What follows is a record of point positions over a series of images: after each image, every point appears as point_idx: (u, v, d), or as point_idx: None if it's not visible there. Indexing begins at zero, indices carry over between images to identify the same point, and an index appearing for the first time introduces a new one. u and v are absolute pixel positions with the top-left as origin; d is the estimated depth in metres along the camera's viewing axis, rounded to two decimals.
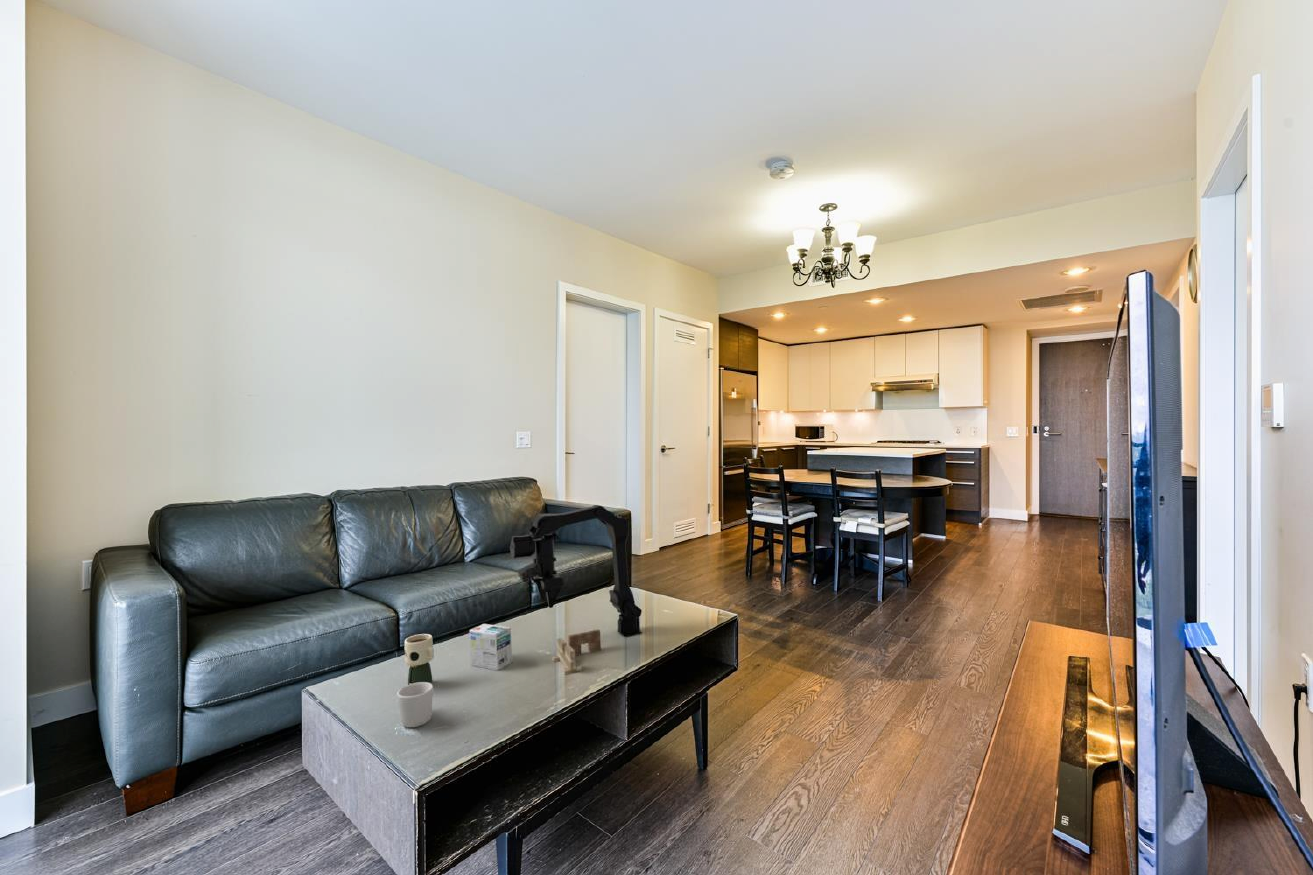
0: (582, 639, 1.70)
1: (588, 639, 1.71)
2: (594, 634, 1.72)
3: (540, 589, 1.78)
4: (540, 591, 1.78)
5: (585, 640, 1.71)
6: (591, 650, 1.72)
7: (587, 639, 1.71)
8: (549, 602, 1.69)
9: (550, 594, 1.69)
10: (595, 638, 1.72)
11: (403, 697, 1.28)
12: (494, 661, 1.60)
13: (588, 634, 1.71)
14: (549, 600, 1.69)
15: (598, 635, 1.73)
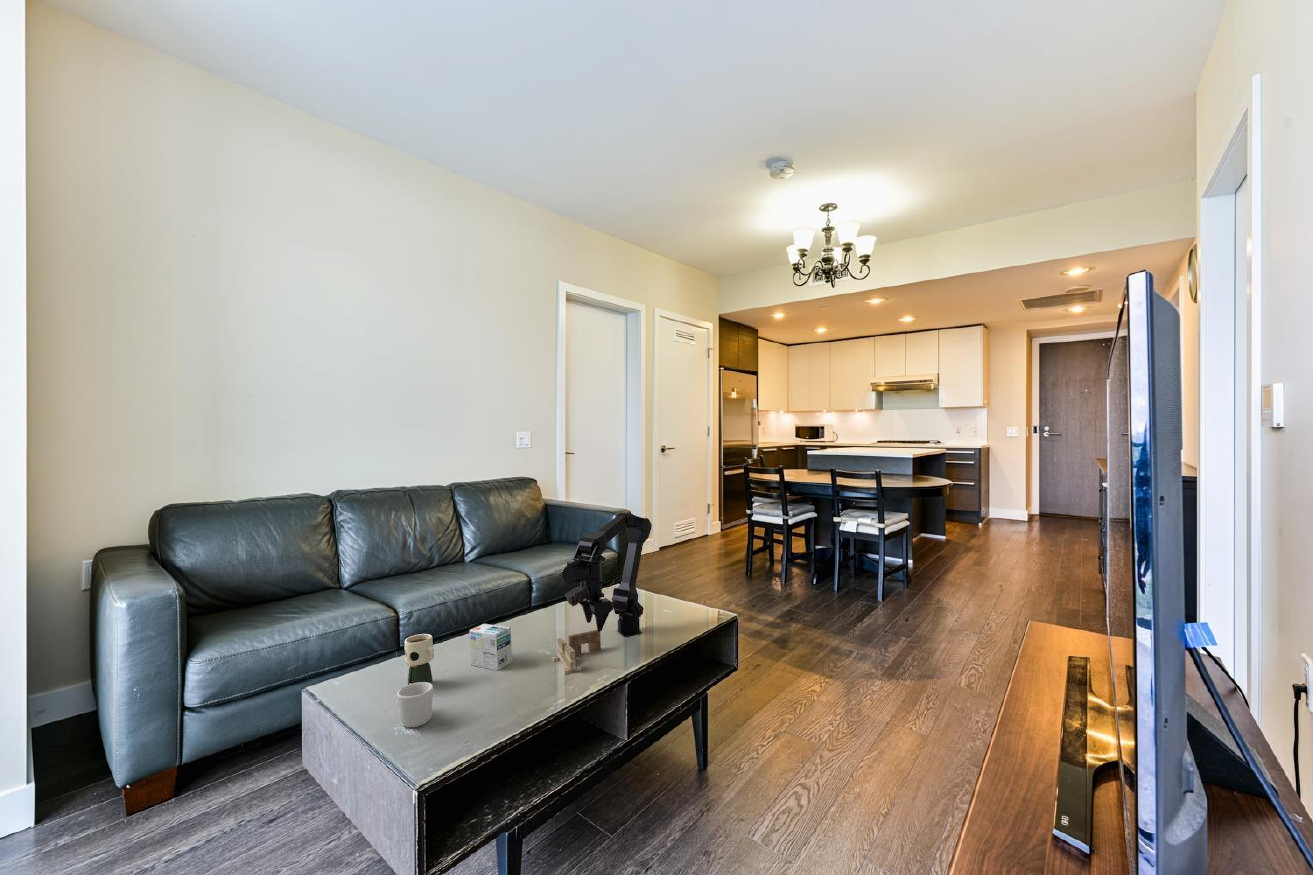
0: (582, 639, 1.70)
1: (588, 639, 1.71)
2: (594, 634, 1.72)
3: (586, 611, 1.77)
4: (586, 613, 1.77)
5: (585, 640, 1.71)
6: (591, 650, 1.72)
7: (587, 639, 1.71)
8: (598, 626, 1.68)
9: (599, 618, 1.68)
10: (595, 638, 1.72)
11: (403, 697, 1.28)
12: (494, 661, 1.60)
13: (588, 634, 1.71)
14: (598, 624, 1.68)
15: (598, 635, 1.73)
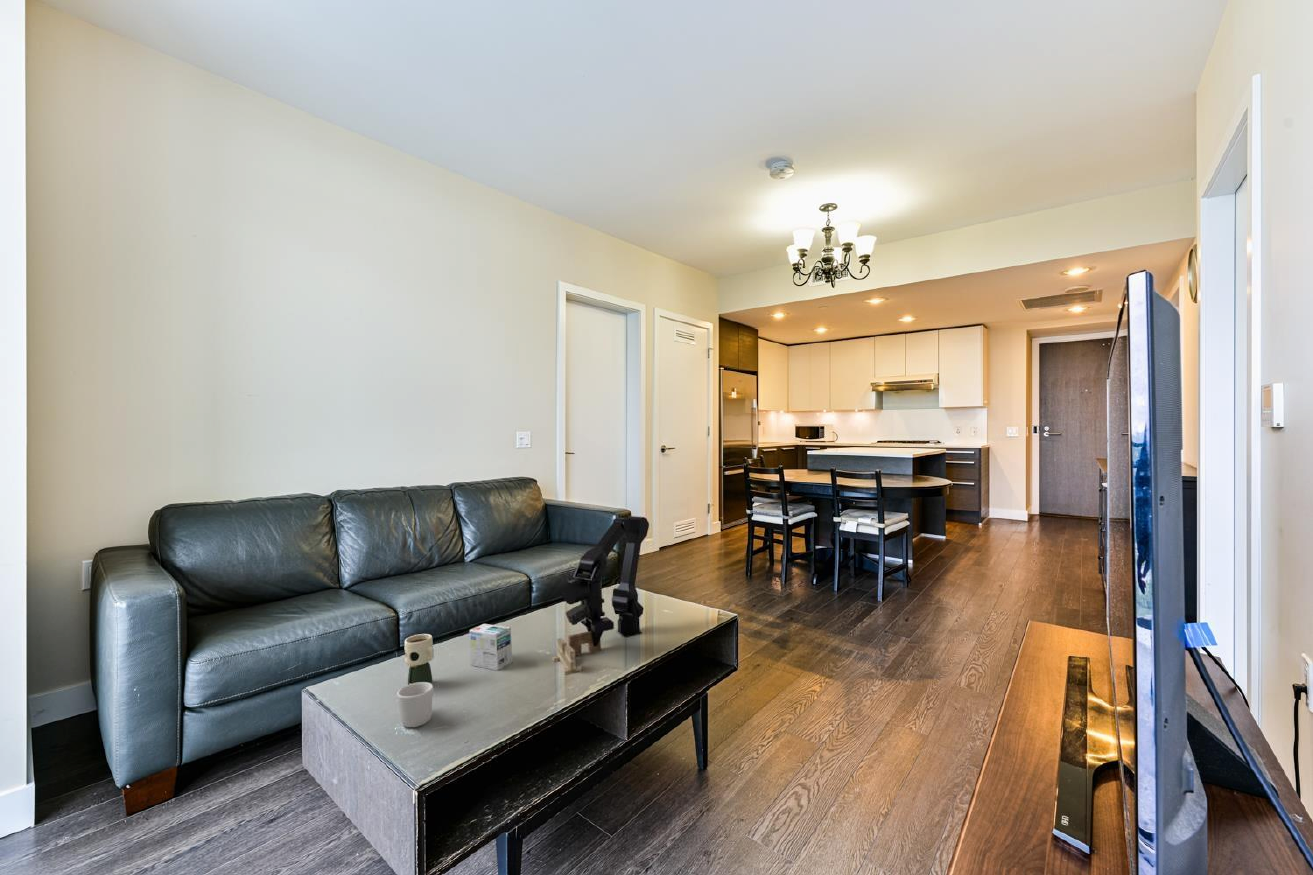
0: (582, 639, 1.70)
1: (588, 639, 1.71)
2: None
3: None
4: None
5: (585, 640, 1.71)
6: (591, 650, 1.72)
7: (587, 639, 1.71)
8: (594, 641, 1.71)
9: (595, 633, 1.71)
10: None
11: (403, 697, 1.28)
12: (494, 661, 1.60)
13: (588, 634, 1.71)
14: (594, 639, 1.71)
15: None
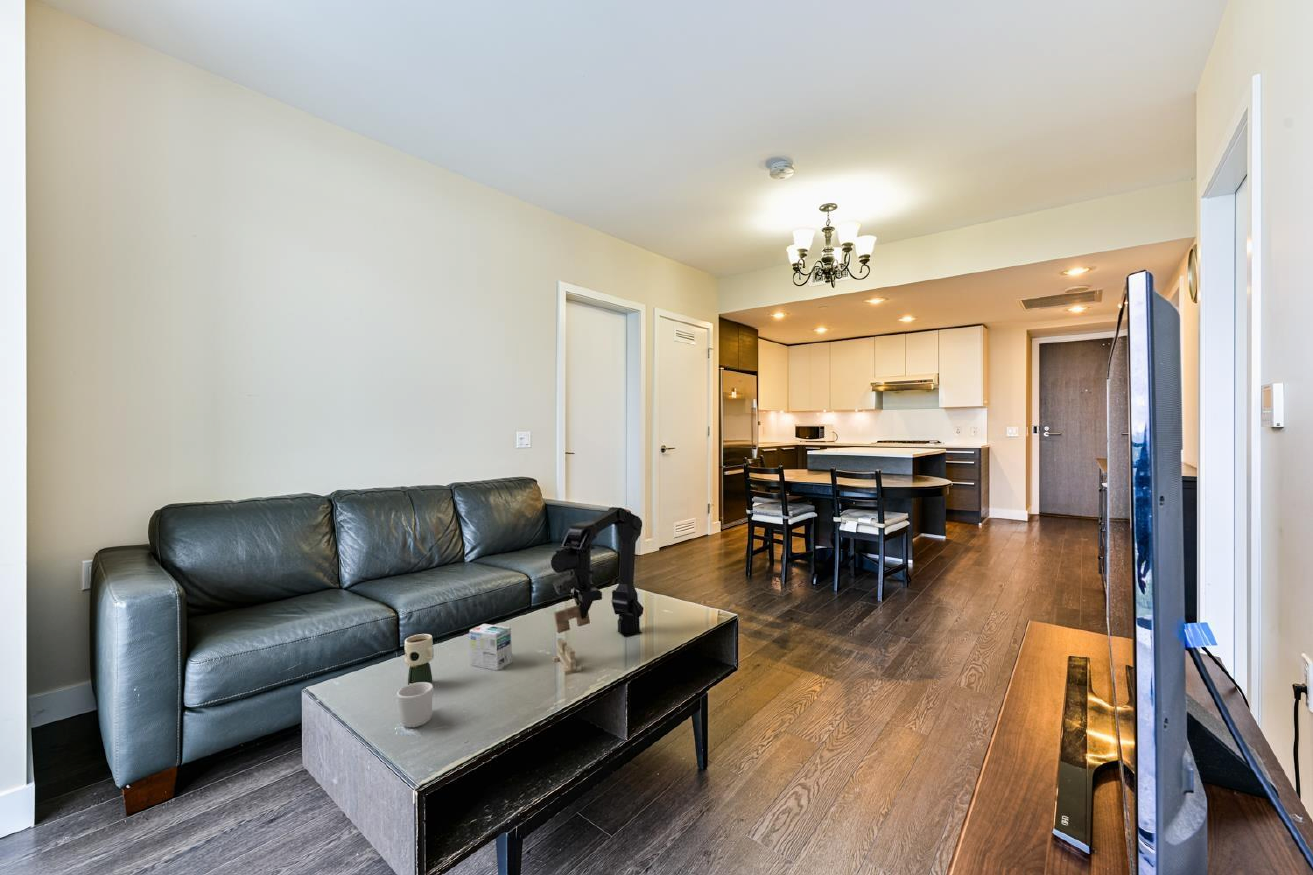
0: (569, 614, 1.65)
1: (575, 614, 1.66)
2: None
3: None
4: None
5: (572, 615, 1.65)
6: (580, 624, 1.66)
7: (574, 614, 1.65)
8: (582, 613, 1.66)
9: (583, 605, 1.65)
10: None
11: (403, 697, 1.28)
12: (494, 661, 1.60)
13: (575, 608, 1.66)
14: (582, 611, 1.65)
15: None
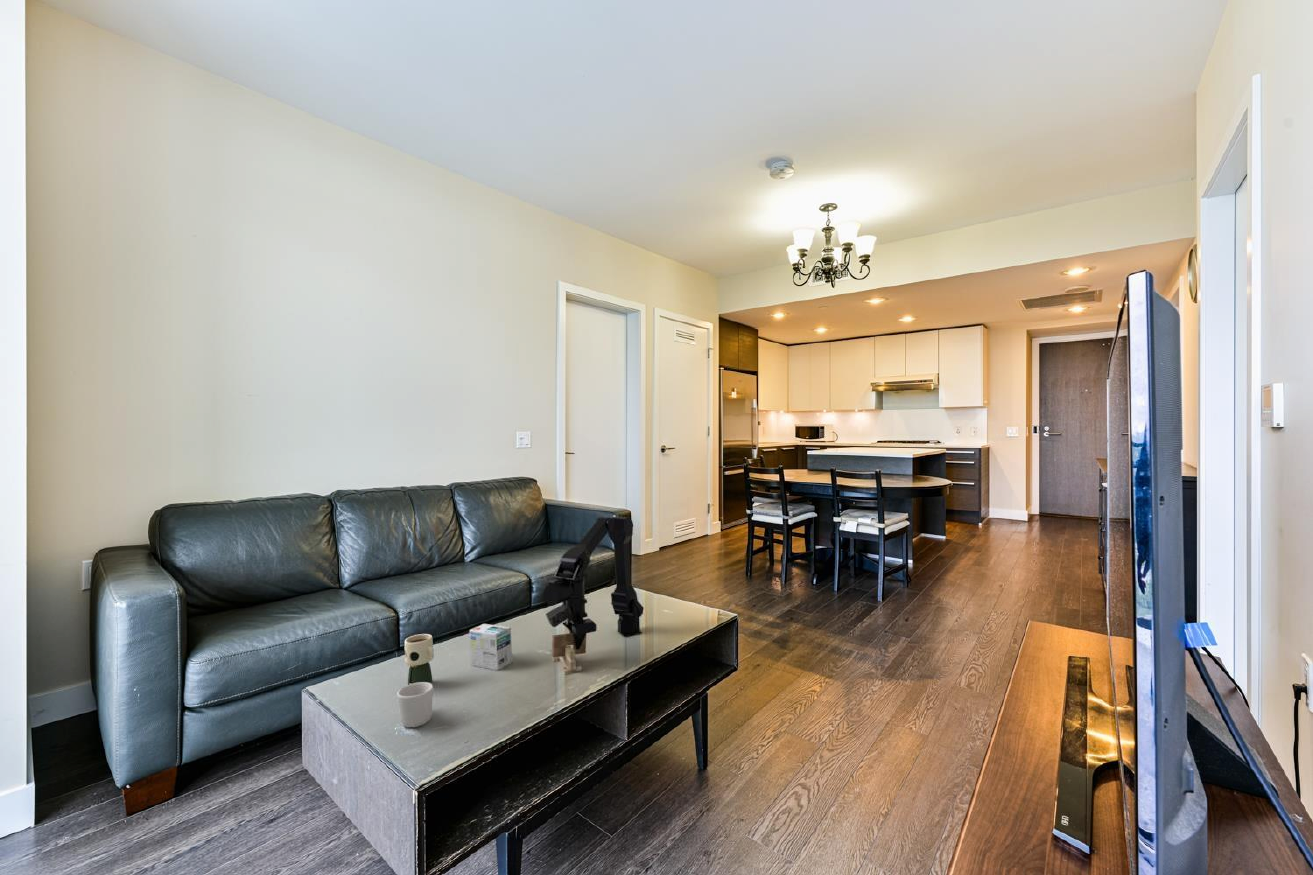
0: (567, 640, 1.62)
1: (573, 641, 1.63)
2: None
3: None
4: None
5: (570, 641, 1.62)
6: (575, 653, 1.63)
7: (571, 641, 1.62)
8: (576, 644, 1.62)
9: (577, 635, 1.62)
10: None
11: (403, 697, 1.28)
12: (494, 661, 1.60)
13: None
14: (576, 642, 1.62)
15: None
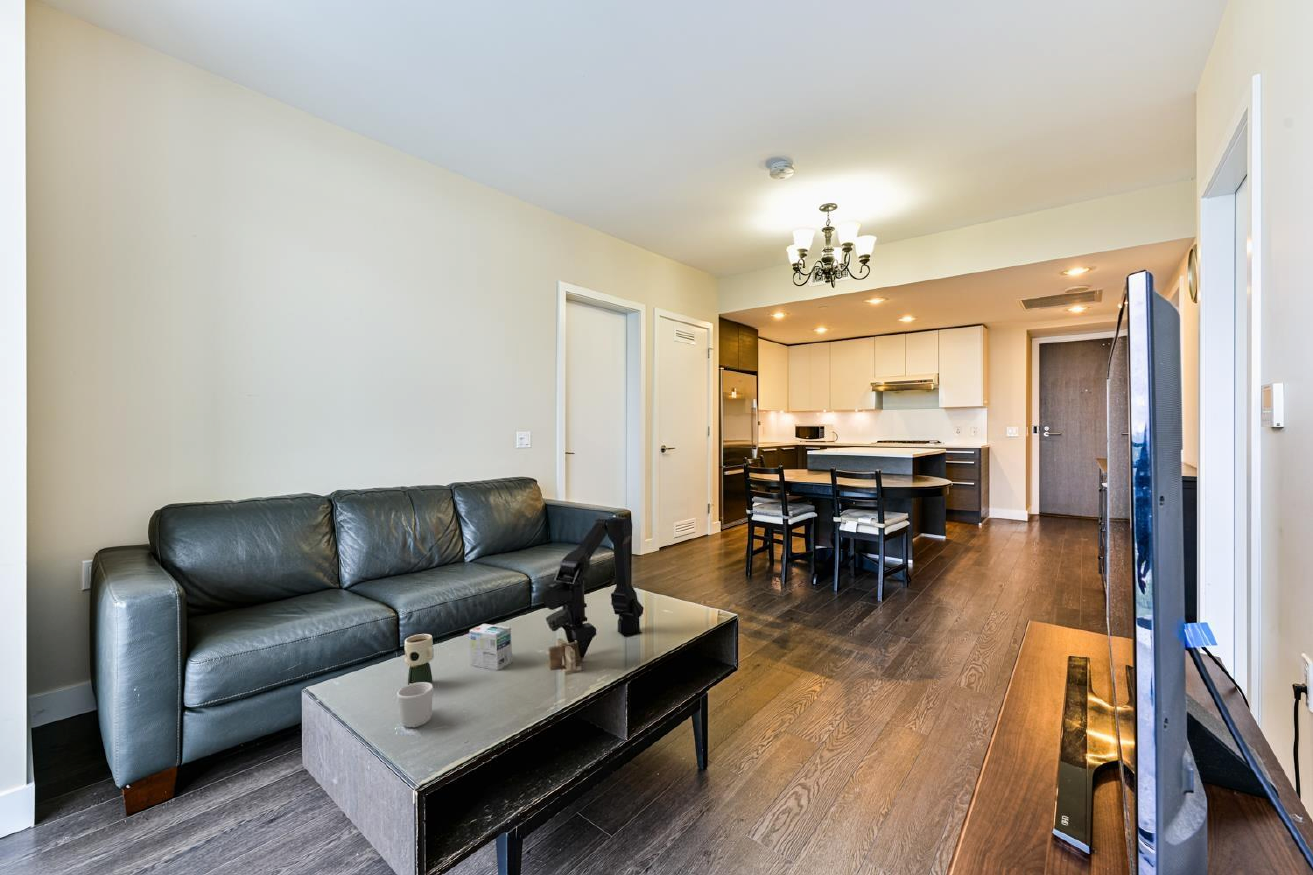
0: (563, 651, 1.61)
1: None
2: (576, 646, 1.63)
3: (569, 636, 1.68)
4: (569, 638, 1.68)
5: None
6: None
7: None
8: (580, 652, 1.59)
9: (581, 644, 1.58)
10: (577, 650, 1.63)
11: (403, 697, 1.28)
12: (494, 661, 1.60)
13: (570, 646, 1.62)
14: (580, 650, 1.59)
15: None
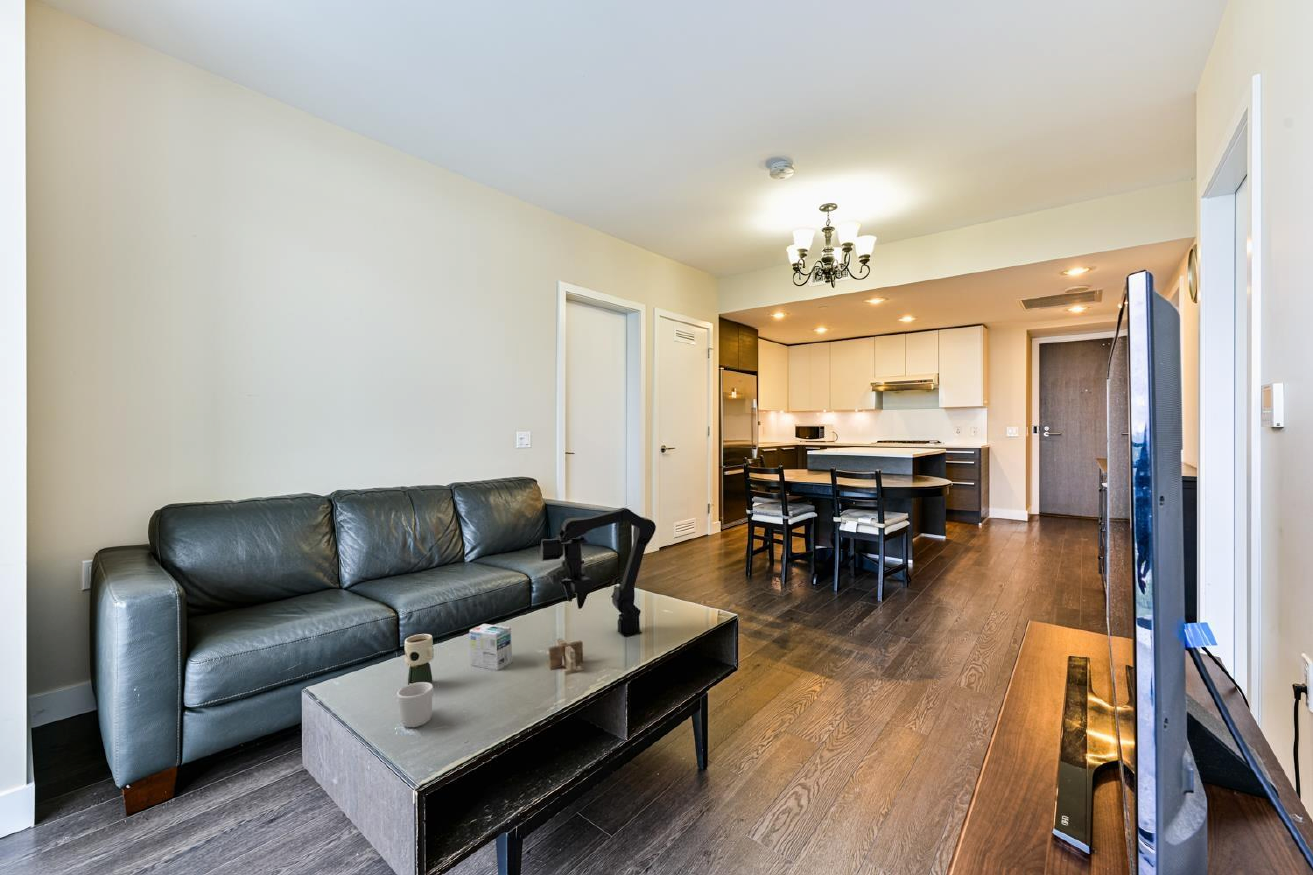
0: (563, 651, 1.61)
1: None
2: (576, 646, 1.63)
3: (568, 591, 1.85)
4: (568, 593, 1.85)
5: None
6: None
7: None
8: (578, 603, 1.76)
9: (579, 595, 1.76)
10: (577, 650, 1.63)
11: (403, 697, 1.28)
12: (494, 661, 1.60)
13: (570, 646, 1.62)
14: (578, 601, 1.76)
15: (580, 647, 1.64)
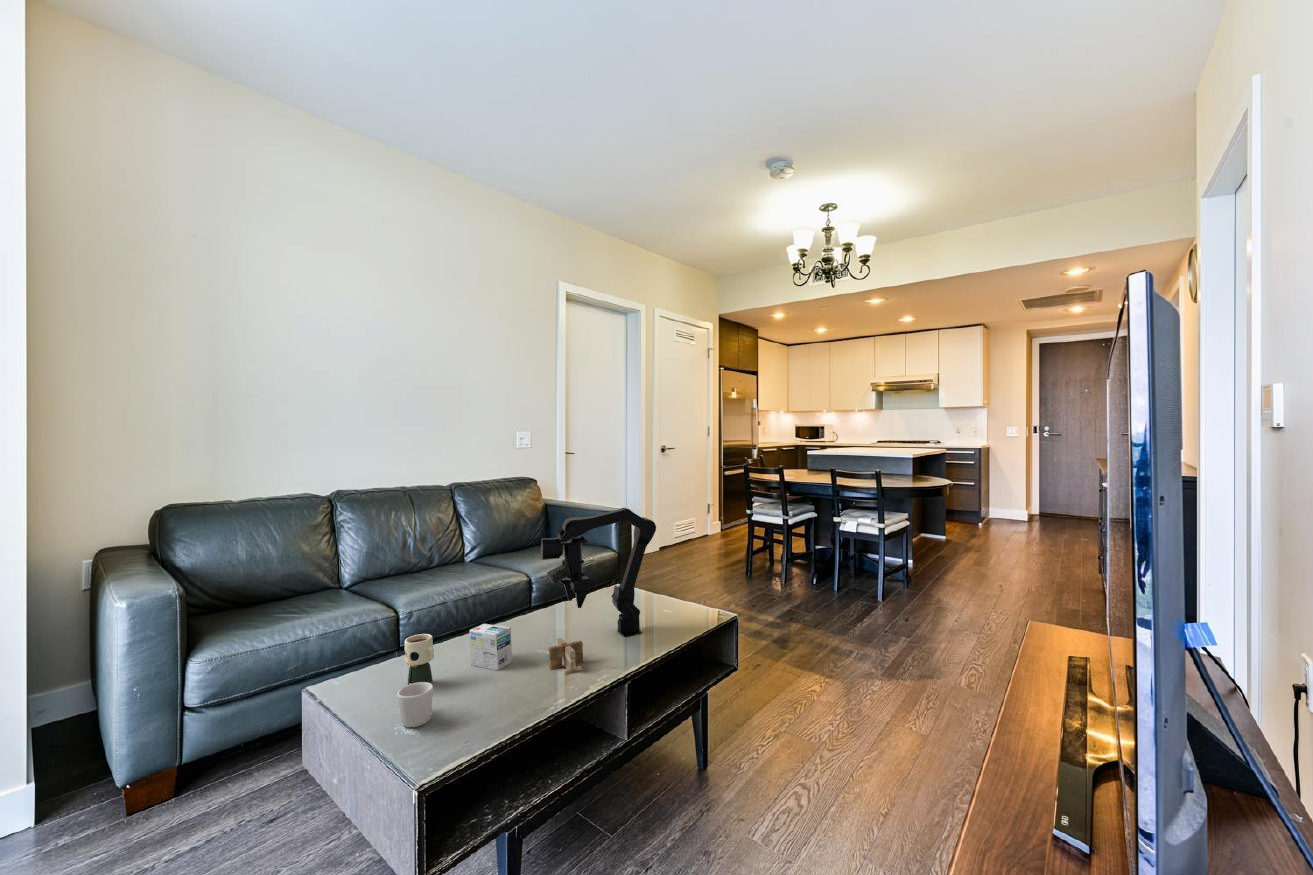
0: (563, 651, 1.61)
1: None
2: (576, 646, 1.63)
3: (568, 590, 1.85)
4: (568, 592, 1.85)
5: None
6: None
7: None
8: (578, 602, 1.76)
9: (579, 595, 1.76)
10: (577, 650, 1.63)
11: (403, 697, 1.28)
12: (494, 661, 1.60)
13: (570, 646, 1.62)
14: (578, 600, 1.76)
15: (580, 647, 1.64)
